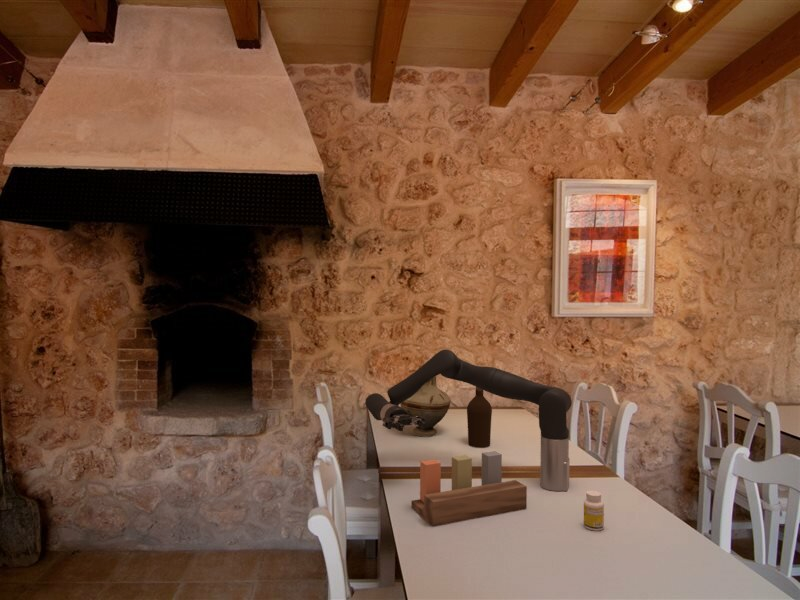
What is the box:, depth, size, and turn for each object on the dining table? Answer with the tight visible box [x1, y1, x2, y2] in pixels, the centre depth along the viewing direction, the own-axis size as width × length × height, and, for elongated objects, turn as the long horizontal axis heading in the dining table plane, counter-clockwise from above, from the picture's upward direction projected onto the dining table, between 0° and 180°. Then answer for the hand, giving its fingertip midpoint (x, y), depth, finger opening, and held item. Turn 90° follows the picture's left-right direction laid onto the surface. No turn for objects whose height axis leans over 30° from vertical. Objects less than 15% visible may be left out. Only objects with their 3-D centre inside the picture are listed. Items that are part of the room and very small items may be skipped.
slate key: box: [481, 450, 503, 485], centre depth 179 cm, size 4×5×12 cm
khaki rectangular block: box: [451, 454, 473, 490], centre depth 174 cm, size 4×5×12 cm
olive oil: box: [466, 387, 493, 449], centre depth 238 cm, size 11×11×25 cm
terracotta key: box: [419, 459, 442, 502], centre depth 170 cm, size 4×5×12 cm
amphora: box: [399, 376, 451, 437], centre depth 256 cm, size 24×24×30 cm
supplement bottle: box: [583, 490, 605, 531], centre depth 157 cm, size 5×5×10 cm
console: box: [411, 479, 528, 527], centre depth 170 cm, size 15×32×7 cm, turn 113°
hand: (412, 427), depth 182 cm, fingers open, 7 cm apart
